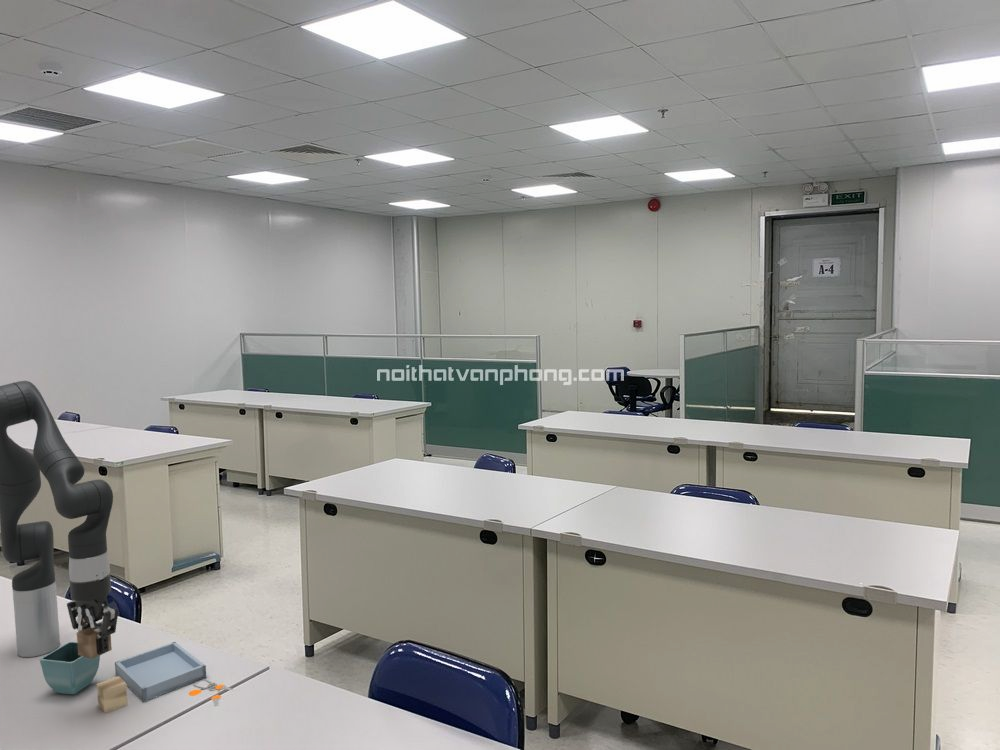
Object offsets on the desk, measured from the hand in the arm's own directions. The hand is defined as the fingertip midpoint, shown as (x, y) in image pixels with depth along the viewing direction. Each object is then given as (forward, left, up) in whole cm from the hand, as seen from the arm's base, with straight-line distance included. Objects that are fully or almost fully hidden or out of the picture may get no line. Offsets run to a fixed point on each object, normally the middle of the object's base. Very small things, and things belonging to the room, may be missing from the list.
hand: (95, 650), depth 150 cm
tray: (-5, +15, -13) cm, 20 cm away
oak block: (0, +3, -13) cm, 14 cm away
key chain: (+11, +20, -14) cm, 27 cm away
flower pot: (-14, -1, -14) cm, 20 cm away
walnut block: (0, 0, 0) cm, 0 cm away
